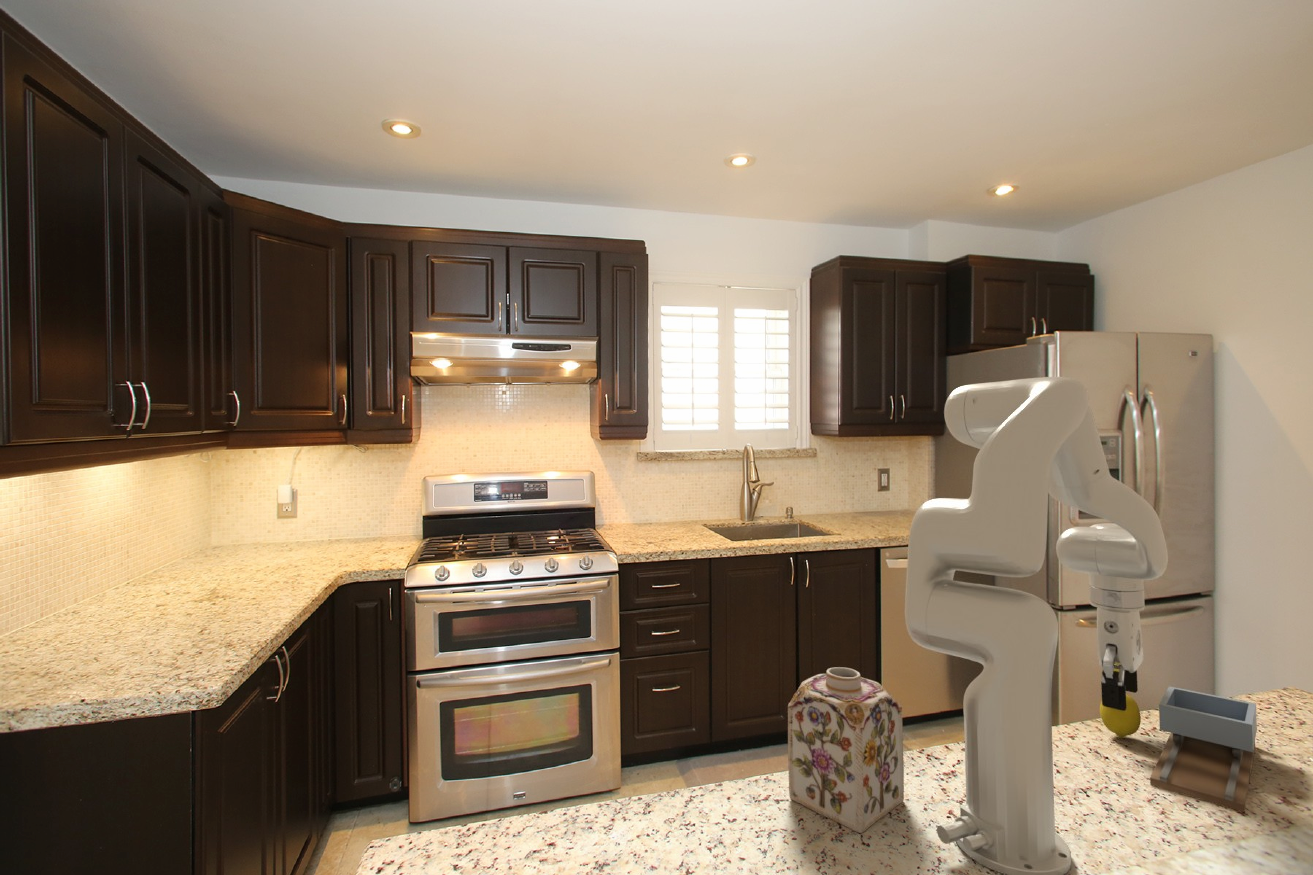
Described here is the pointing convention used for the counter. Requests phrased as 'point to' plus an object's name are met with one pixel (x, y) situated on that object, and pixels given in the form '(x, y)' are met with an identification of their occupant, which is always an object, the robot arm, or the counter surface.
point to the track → (1204, 771)
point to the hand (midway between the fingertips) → (1120, 698)
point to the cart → (1209, 719)
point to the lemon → (1122, 718)
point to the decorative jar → (845, 748)
